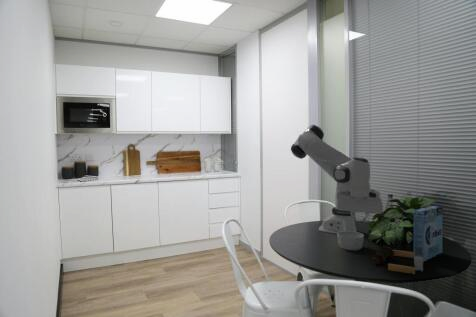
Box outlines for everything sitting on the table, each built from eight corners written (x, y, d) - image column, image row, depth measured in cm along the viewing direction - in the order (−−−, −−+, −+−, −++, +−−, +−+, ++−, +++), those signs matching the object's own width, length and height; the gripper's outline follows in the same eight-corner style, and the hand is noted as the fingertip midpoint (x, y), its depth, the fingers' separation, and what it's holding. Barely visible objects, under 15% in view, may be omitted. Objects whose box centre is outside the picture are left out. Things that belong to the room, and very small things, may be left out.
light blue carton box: (423, 262, 147) (424, 212, 146) (412, 259, 151) (413, 210, 150) (442, 253, 158) (443, 207, 157) (431, 251, 162) (432, 205, 161)
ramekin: (366, 252, 161) (366, 238, 161) (338, 250, 164) (338, 237, 163) (361, 244, 174) (361, 231, 174) (335, 243, 176) (336, 230, 176)
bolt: (373, 268, 144) (386, 259, 155) (383, 266, 141) (396, 256, 151) (367, 256, 146) (380, 247, 156) (377, 253, 142) (389, 244, 153)
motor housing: (388, 270, 138) (388, 254, 137) (390, 254, 157) (390, 240, 157) (423, 275, 132) (423, 259, 132) (421, 258, 151) (421, 244, 151)
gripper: (335, 191, 154) (335, 220, 155) (382, 194, 145) (382, 225, 145) (338, 190, 160) (337, 217, 160) (383, 192, 150) (383, 222, 151)
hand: (359, 221), depth 153 cm, fingers open, 3 cm apart
